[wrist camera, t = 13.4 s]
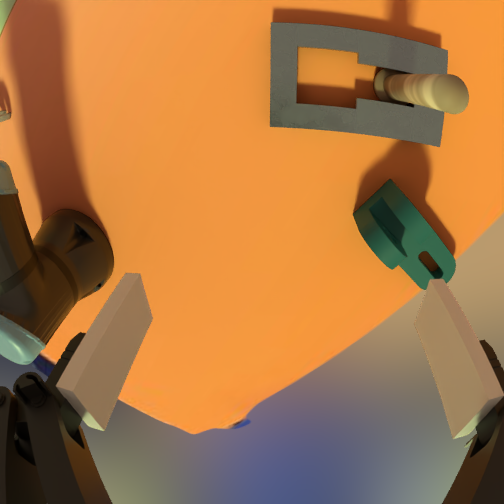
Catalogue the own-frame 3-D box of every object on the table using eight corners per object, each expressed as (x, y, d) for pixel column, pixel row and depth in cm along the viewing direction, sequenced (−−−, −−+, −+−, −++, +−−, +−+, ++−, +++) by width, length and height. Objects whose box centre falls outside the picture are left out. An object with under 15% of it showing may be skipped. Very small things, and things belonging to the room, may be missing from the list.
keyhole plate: (271, 124, 33) (270, 126, 32) (272, 26, 27) (270, 22, 25) (432, 143, 31) (439, 147, 29) (439, 51, 25) (447, 50, 23)
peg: (372, 103, 30) (421, 118, 18) (374, 64, 28) (425, 55, 15) (409, 109, 30) (474, 131, 17) (412, 71, 27) (479, 72, 15)
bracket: (352, 213, 38) (364, 243, 31) (389, 178, 35) (410, 201, 28) (424, 288, 42) (440, 323, 36) (456, 261, 39) (477, 293, 33)
